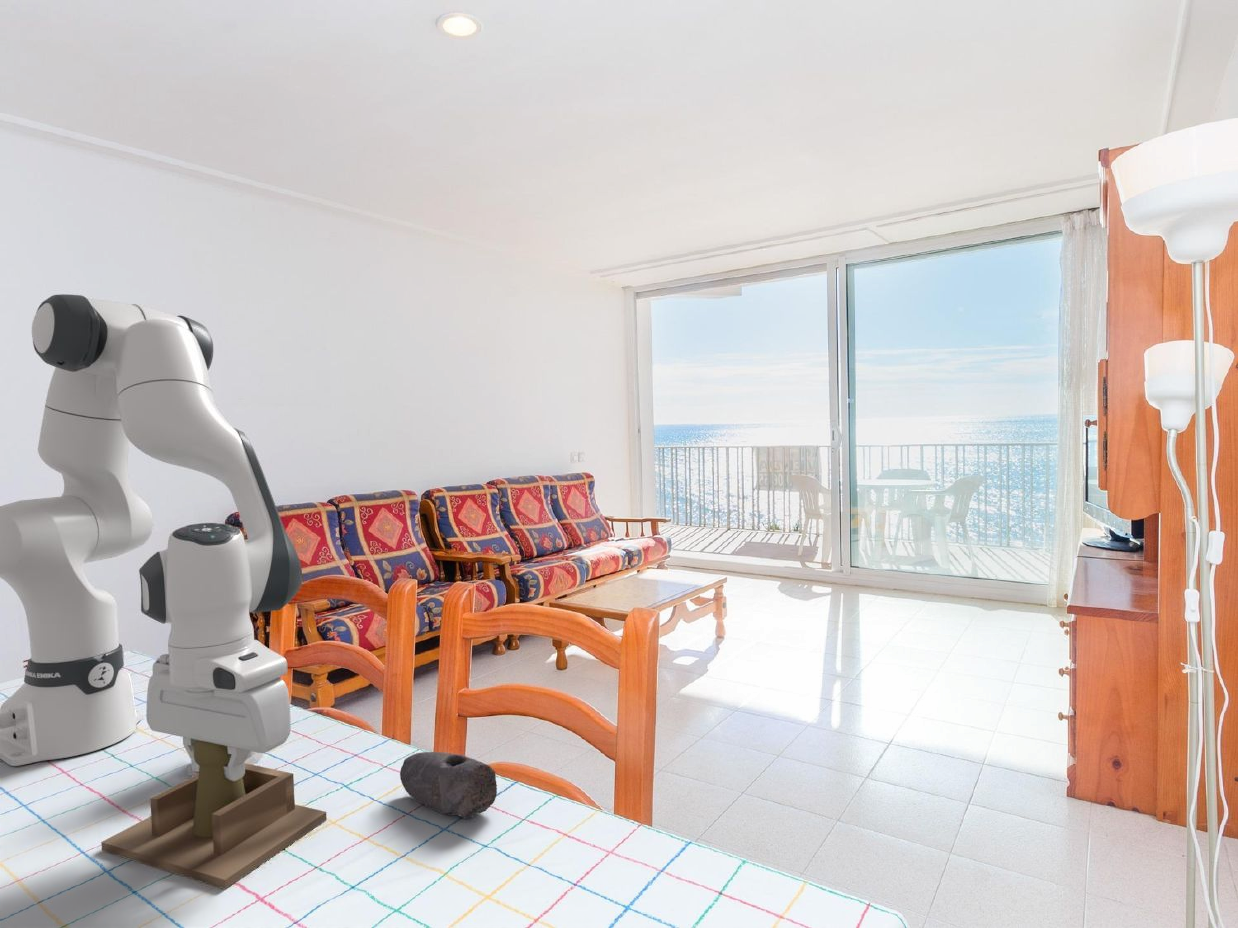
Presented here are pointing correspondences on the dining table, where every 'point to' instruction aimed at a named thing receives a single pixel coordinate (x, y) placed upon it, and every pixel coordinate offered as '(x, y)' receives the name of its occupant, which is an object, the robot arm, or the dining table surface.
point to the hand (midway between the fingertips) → (218, 774)
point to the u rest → (219, 829)
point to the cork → (212, 786)
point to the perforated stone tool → (449, 783)
